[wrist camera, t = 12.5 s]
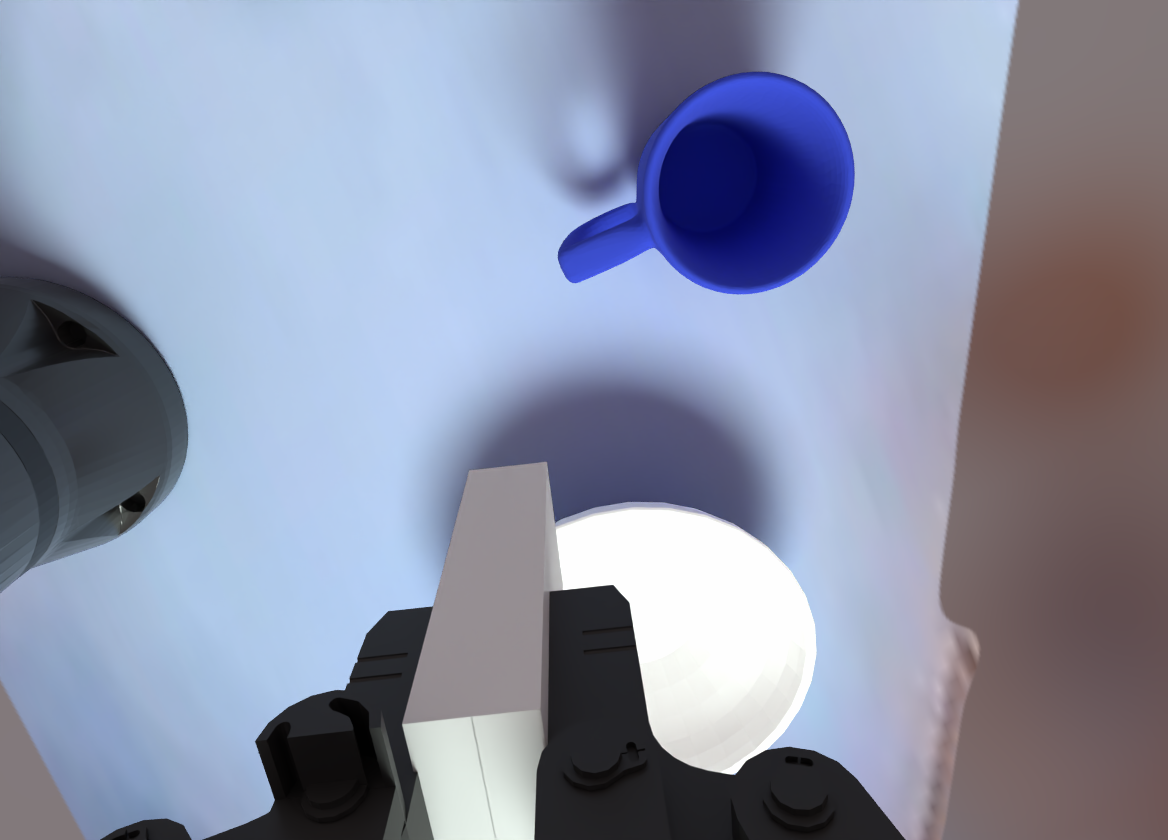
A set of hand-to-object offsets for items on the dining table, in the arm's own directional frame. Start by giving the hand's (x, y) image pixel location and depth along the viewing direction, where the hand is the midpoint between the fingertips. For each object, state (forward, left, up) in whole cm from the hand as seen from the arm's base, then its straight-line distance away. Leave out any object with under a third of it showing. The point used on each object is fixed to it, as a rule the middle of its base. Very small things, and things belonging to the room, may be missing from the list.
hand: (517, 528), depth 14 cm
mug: (+7, +4, -27) cm, 28 cm away
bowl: (+3, -20, -27) cm, 33 cm away
